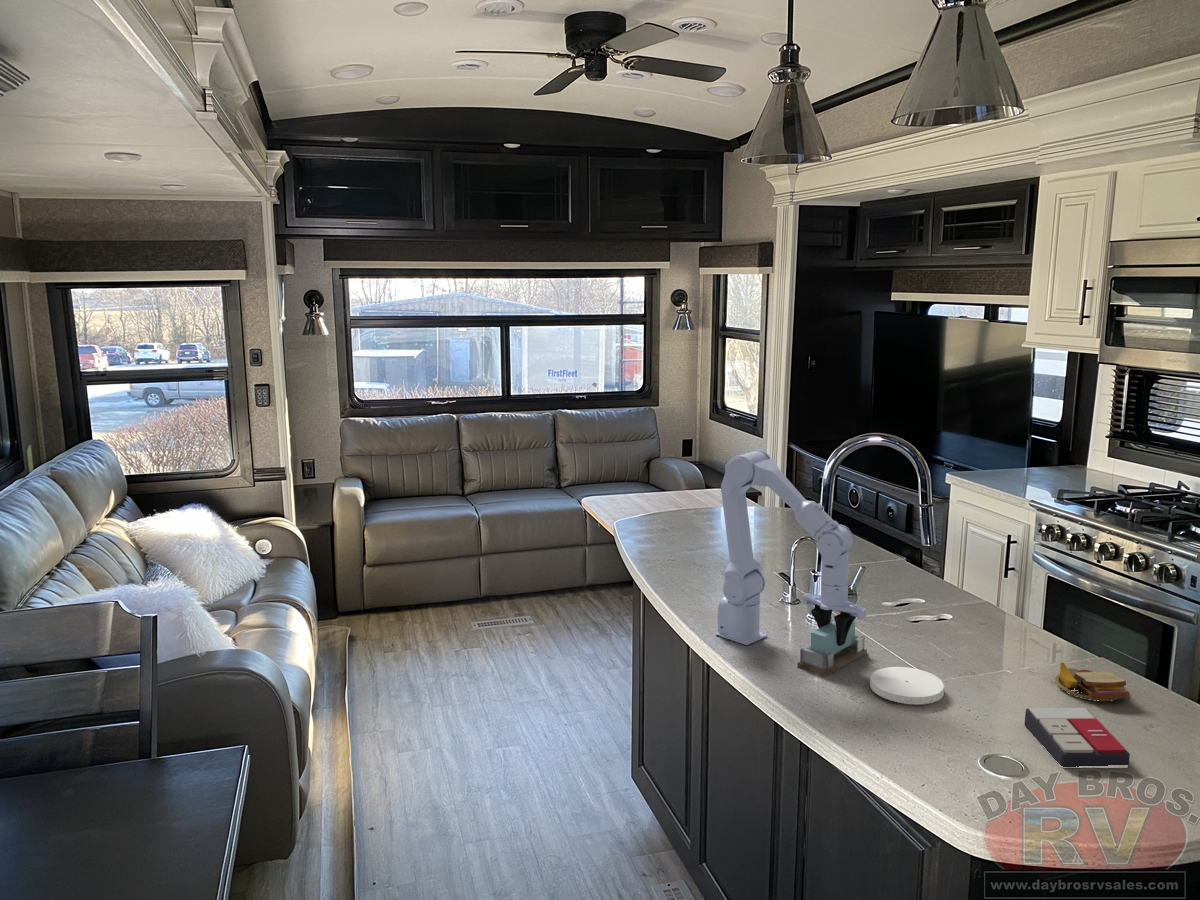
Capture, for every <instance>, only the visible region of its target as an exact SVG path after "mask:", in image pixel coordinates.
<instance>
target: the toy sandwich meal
mask: <svg viewBox="0 0 1200 900" xmlns="http://www.w3.org/2000/svg"><path fill="white" fill-rule="evenodd" d="M1059 665H1060V667H1059V674H1057V675H1056V676H1055V677H1054V681H1055V683H1056V685H1057V686H1058V687H1059V688H1060V689H1061V690H1062V689H1063V690H1064V691H1066V692H1068V693H1070V694H1072V695H1075V696H1078V697H1082V698H1086V699H1091V700H1096V701H1095V702H1097V700H1099V701H1110V702H1112V701H1111V700H1115V701H1117V700H1116V699H1118V700H1120V699H1126V698H1129V697H1130V691H1128V690H1127V689H1126V685H1127V680H1126V679H1123V678H1121V677H1119V676H1117V675H1116V674H1114V673H1113V672H1110V671H1092V670H1089V669H1080V670H1079V669H1077V668H1068V667H1067V665H1066V664H1065V662H1060V664H1059ZM1074 688H1075V690H1078V691H1075V692H1074V691H1071V690H1074ZM1063 690H1062V691H1063ZM1064 691H1063V692H1064ZM1066 692H1065V693H1066ZM1077 692H1079V693H1077ZM1081 692H1082V693H1081ZM1068 693H1067V694H1068ZM1070 694H1069V695H1070ZM1072 695H1071V696H1072ZM1075 696H1074V697H1075ZM1119 698H1120V699H1119Z"/></svg>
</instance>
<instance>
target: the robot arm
mask: <svg viewBox="0 0 1200 900" xmlns="http://www.w3.org/2000/svg"><path fill="white" fill-rule="evenodd" d="M724 471H725V472H724V475H723V479H722V481H721V484H720V485H721V486H720V491H721V492H720V493H721V500H722V501H721V502H722V508H723V517H724V524H725V534H726V541H727V542H726V543H727V549H728V557H729V563H728V564H727V567H726V569H725V570H724V572H723V574H724V581H723V584H722V592H723V595H724V596H723V597H722V598H721V599H720V600H719V602H718V603H719V604H718V606H717V631H716V632H715V636H718V635H719V637H721V638H724V639H727V640H729V639H730V641H733V642H736V643H738V644H741V645H744V646H749V645H751V644H753V643H755V642H757V641H759V640H761V639H764V638H766V637H768V634H767V633H766V632H762V631H760V621H761V619H760V616H761V615H760V608H761V605H760V603H761V602H760V601H761V600H760V599H761V593H762V592H764V590H765V587H766V580H765V576H764V575H763V573H762V571H761V565H760V563H759V562H758V561H757V560H756V559H755V558H754V553H753V551H754V550H753V546H752V536H751V528H750V520H749V519H750V518H749V510H748V505H747V504H748V503H747V495H746V493H747V491H748V490H749V489H750V488H751V487H752V486H757V487H758V486H759V487H767V488H769V489H770V490H771V491H772V492H773V493H775V494H776V496H778V498H780V500H782V501H784V502H785V504H786V505H788V506H789V508H791V510H793V511H794V519H795V520H796V522H798V523H799V525H800V526H801V527H802V528H803V529H804V530H805V531H806V532H807V533H808V534H809V535H810V536H811V537H812V538H813V539H814V540H815V541H816V548H817V550H818V552H819V554H820V556H821V562H820V567H821V569H820V594H815V593H809V592H808V593H804V594H803V595H802V603H803V604H804V605H813V606H814V607H813V609H811V610H810V614H811V615H812V617H813V619H814V620H815V622H816V625H817V629H819V628H821V627H823V626H825V625H827V624H829V623H831V620H832V614H833V612H838V613H839V614H836V615H834V617H833V618H834V621H835V623H836V628H837V645H838V646H841V645H843V644H845V641H846V637H847V634H848V631H849V629H850V627H851V625H852V623H853V621H855V619H856V618H857V619H858V620H861V621H862V620H864V619H865V618H867V608H865V607H862V606H860V605H858V604H855V603H853V602H851V601H849V597H848V596H849V568H850V561H849V560H850V559H849V558H850V557H849V556H850V551H849V550H850V549H851V548H852V547H853V545H854V541H855V540H854V539H855V538H854V535H853V533H852V531H851V530H850V528H849V526H848V527H847V526H846V525H845V524H844V525H843V524H839V522H838V521H837V520H834V519H833V518H832V517H831V515H829V514H828V513H827V512H826V511H825V510H824V509H823V508H824V506H823V505H822V504H821V503H820V502H816V501H814V500H807V499H806V498H805V497H804V496H803V495H802V494H801V493H800V491H799V490H798V489H797V488H796V487H795V486H794V484H793V483H792V482H791V481H790V480H789V479H788V478H787V476H786V475H785V474H784V473H783V472H782V470H780V468H779V466H778V464H777V461H776V460H775V459H773V458H772V457H771V456H770V455H769V454H768V452H766V451H765V450H762V449H754V450H752V451H751V452H747V453H744V454H741V455H735V456H733V457H732V458H731V459H729V461H728V462H727V463H726V464H725V465H724Z"/></svg>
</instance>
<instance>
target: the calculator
mask: <svg viewBox="0 0 1200 900" xmlns="http://www.w3.org/2000/svg"><path fill="white" fill-rule="evenodd" d="M1024 725H1025V726H1026V727H1025V726H1024V727H1025V728H1026V729H1027V731H1029V733H1030V732H1031V733H1032V734H1033V735H1032V734H1031V733H1030V734H1031V735H1032V737H1035V739H1036V740H1037V739H1038V740H1037V741H1038V742H1039V743H1040V745H1041V744H1042V745H1043V746H1044V747H1045V748H1046V750H1047V751H1048V752H1049V753H1050V754H1051V755H1052V756H1053V758H1054V759H1055V760H1056V761H1057V762H1058V763H1059V764H1060V765H1061V766H1063V767H1076V766H1077V767H1079V766H1108V765H1130V757H1131V755H1130V753H1129V751H1128V750H1127V749H1126V748H1125V746H1124V745H1122V743H1120V741H1119V740H1118V739H1116V737H1115V736H1114V735H1113V734H1112V733H1111V732H1110V731H1109V730H1108V729H1107V728H1106V727H1105V725H1103V724H1102V723H1101V722H1100V720H1098V718H1096V717H1095V716H1094V715H1093V714H1092V713H1091V711H1089V710H1088V709H1087V707H1029V708H1026V709H1025V713H1024ZM1042 745H1041V746H1042ZM1043 746H1042V747H1043ZM1044 747H1043V748H1044ZM1045 748H1044V749H1045ZM1046 750H1045V751H1046ZM1047 751H1046V752H1047ZM1048 752H1047V753H1048ZM1049 753H1048V754H1049ZM1050 754H1049V755H1050ZM1051 755H1050V756H1051ZM1053 758H1052V759H1053ZM1054 759H1053V760H1054ZM1055 760H1054V761H1055ZM1056 761H1055V762H1056ZM1057 762H1056V763H1057ZM1058 763H1057V764H1058Z"/></svg>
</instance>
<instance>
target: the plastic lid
mask: <svg viewBox="0 0 1200 900" xmlns="http://www.w3.org/2000/svg"><path fill="white" fill-rule="evenodd" d="M869 686H870V689H871V690H872V692H874V693H875V694H876V695H878V696H880V698H884V699H885V700H888V701H891V702H895V703H899V704H900V703H901V704H904V705H919V706H920V705H926V704H927V705H929V704H932V703H936V702H938V701H940V700H941V699H942V698H944V694H945V684H944V682H943V681H942V679H941V678H939V677H938V676H937V675H935V674H933V673H931V672H929V671H925V670H922V669H918V668H914V667H913V668H912V667H906V666H904V667H903V666H892V667H890V666H889V667H884V668H882V667H881V668H880V669H876V670H875V671H874V672H872V673H871V674H870V678H869Z"/></svg>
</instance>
